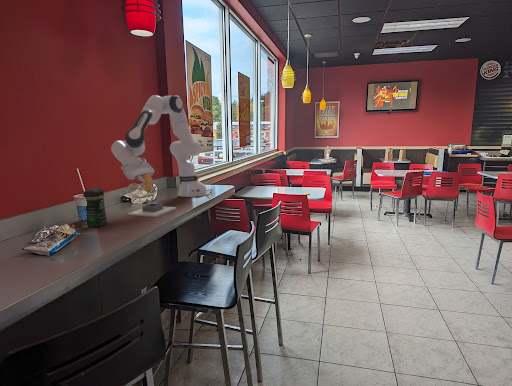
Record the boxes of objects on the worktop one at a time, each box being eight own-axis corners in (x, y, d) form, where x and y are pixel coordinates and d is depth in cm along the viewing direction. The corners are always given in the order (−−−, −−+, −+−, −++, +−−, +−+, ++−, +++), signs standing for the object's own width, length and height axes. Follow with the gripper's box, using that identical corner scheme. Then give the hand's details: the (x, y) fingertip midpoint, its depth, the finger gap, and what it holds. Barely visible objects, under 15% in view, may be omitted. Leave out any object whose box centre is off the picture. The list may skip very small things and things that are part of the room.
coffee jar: (99, 228, 162) (95, 190, 158) (84, 228, 162) (79, 190, 159) (110, 222, 171) (106, 186, 168) (95, 222, 172) (91, 187, 169)
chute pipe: (142, 190, 190) (141, 175, 188) (147, 189, 194) (146, 174, 192) (148, 191, 189) (147, 175, 187) (153, 189, 192) (151, 174, 191)
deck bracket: (128, 215, 186) (127, 208, 186) (150, 207, 205) (150, 200, 204) (155, 216, 180) (154, 209, 180) (176, 208, 199) (175, 202, 198)
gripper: (122, 161, 181) (138, 180, 179) (146, 158, 200) (161, 175, 198) (116, 170, 183) (132, 188, 182) (141, 166, 202) (156, 182, 201)
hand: (148, 181), depth 190 cm, fingers closed on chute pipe, 4 cm apart
